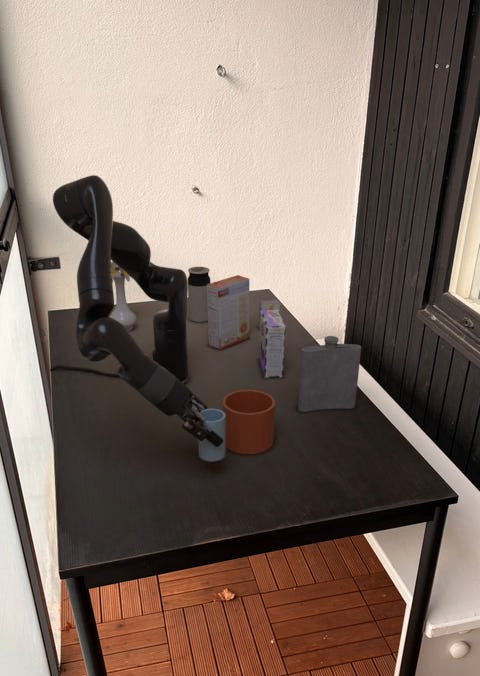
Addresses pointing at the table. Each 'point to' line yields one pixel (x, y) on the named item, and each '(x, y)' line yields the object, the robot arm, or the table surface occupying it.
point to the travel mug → (198, 293)
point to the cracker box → (228, 311)
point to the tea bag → (268, 306)
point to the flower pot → (249, 421)
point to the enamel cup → (218, 425)
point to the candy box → (272, 343)
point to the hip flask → (328, 376)
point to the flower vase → (121, 298)
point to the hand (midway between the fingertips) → (219, 435)
